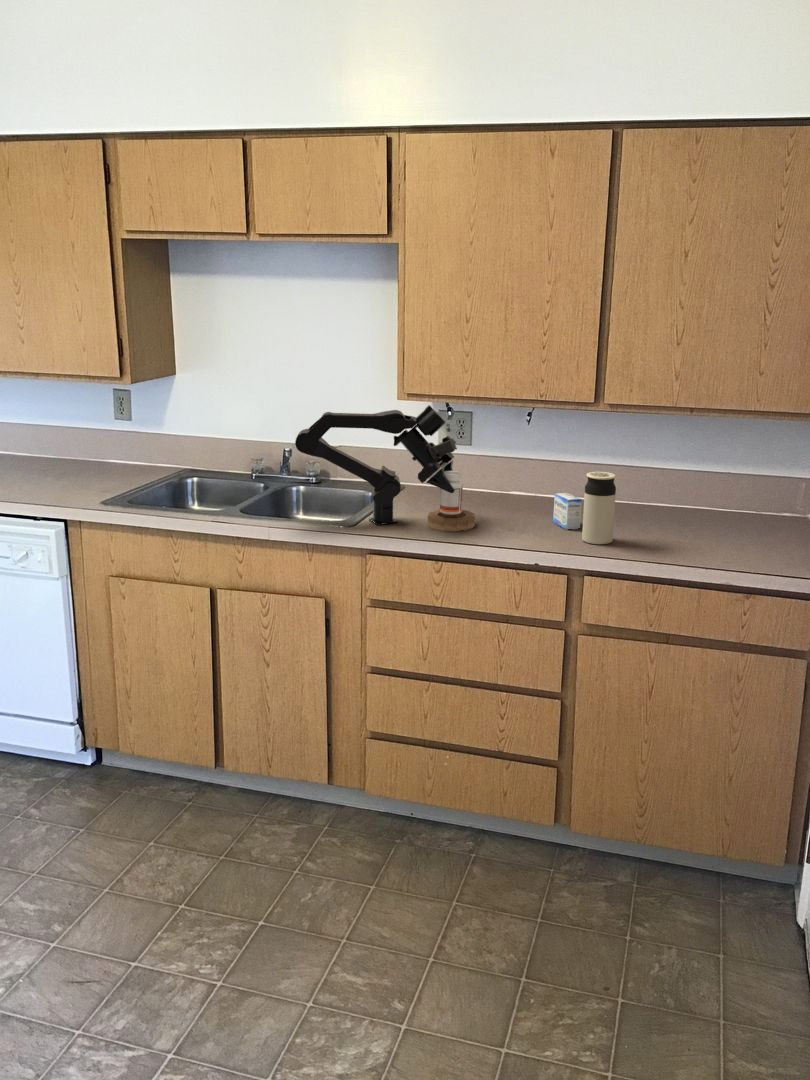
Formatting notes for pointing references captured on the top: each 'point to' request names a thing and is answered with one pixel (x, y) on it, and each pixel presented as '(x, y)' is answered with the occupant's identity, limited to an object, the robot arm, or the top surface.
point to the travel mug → (599, 508)
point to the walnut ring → (451, 521)
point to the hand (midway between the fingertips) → (456, 489)
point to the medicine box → (567, 511)
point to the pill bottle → (452, 494)
